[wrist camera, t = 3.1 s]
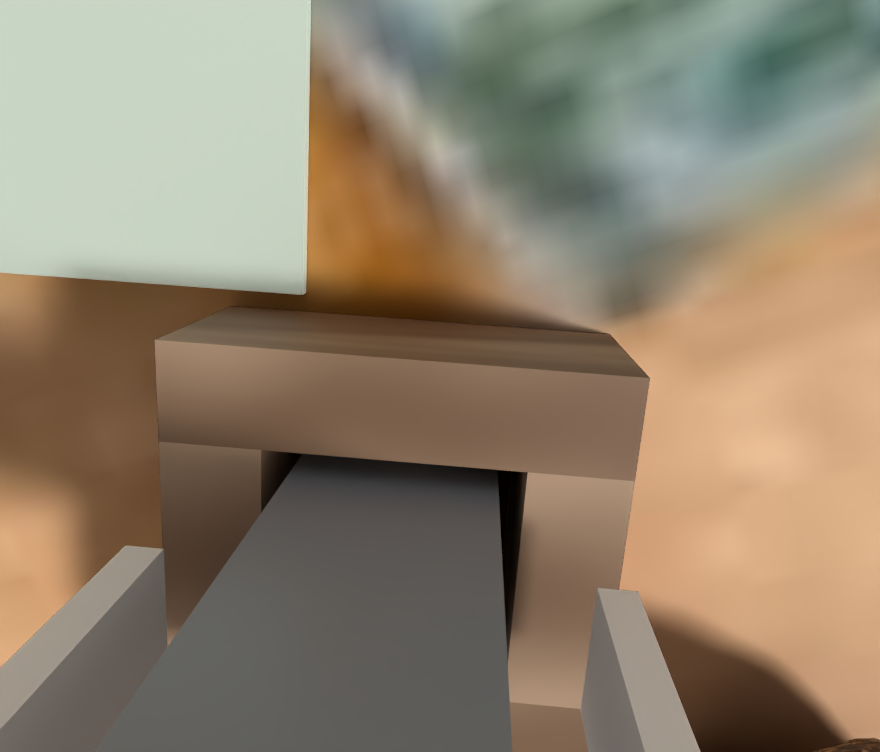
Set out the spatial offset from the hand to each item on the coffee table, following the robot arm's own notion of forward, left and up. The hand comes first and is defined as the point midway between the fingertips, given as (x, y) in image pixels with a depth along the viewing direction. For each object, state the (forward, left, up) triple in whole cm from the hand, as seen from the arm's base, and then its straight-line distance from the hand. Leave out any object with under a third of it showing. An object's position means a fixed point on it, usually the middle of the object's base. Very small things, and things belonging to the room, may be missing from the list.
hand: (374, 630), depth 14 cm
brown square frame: (0, 0, -6) cm, 6 cm away
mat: (-10, -7, -6) cm, 14 cm away
